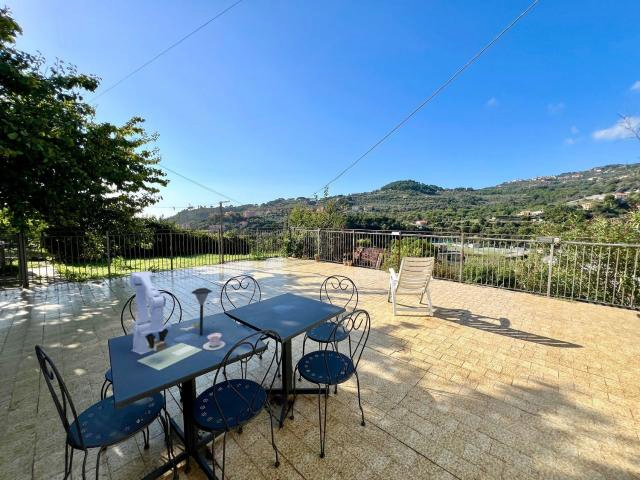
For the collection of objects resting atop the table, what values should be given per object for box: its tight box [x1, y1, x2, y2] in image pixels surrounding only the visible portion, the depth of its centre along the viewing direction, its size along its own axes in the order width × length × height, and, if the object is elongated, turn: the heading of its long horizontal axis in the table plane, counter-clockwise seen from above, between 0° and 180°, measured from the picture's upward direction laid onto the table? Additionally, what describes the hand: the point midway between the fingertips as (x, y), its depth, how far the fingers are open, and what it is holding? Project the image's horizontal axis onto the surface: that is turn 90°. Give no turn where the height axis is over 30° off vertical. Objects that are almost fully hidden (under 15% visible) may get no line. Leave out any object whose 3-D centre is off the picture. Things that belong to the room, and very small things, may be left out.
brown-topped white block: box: [147, 338, 167, 353], centre depth 135 cm, size 9×4×3 cm, turn 64°
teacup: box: [202, 332, 226, 351], centre depth 155 cm, size 12×12×6 cm
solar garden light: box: [191, 287, 213, 337], centre depth 169 cm, size 12×12×30 cm
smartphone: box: [178, 322, 200, 332], centre depth 182 cm, size 7×1×15 cm
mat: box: [137, 342, 203, 371], centre depth 142 cm, size 18×25×1 cm
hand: (156, 345), depth 135 cm, fingers closed on brown-topped white block, 4 cm apart
